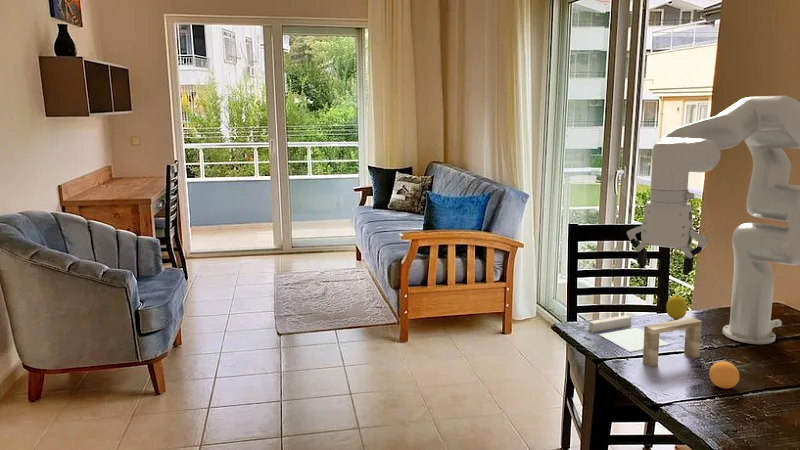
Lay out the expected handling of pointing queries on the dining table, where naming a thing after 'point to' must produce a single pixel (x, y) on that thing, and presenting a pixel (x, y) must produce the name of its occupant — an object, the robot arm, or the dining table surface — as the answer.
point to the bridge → (654, 331)
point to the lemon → (676, 307)
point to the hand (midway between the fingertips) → (664, 270)
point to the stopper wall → (609, 323)
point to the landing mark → (629, 339)
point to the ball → (724, 374)
